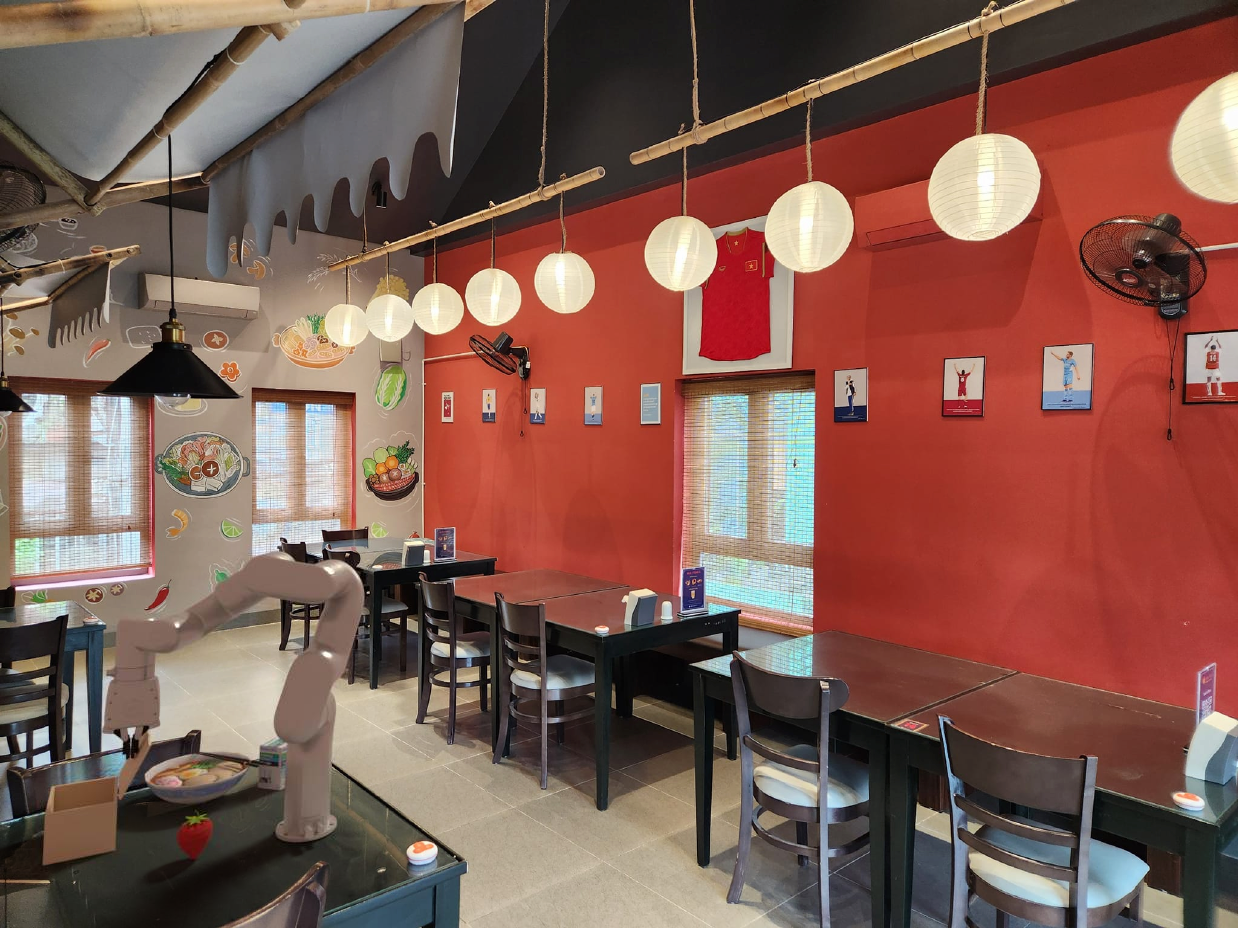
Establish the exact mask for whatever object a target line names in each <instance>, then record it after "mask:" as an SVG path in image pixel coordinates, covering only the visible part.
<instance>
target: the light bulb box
mask: <svg viewBox="0 0 1238 928" xmlns="http://www.w3.org/2000/svg"><path fill="white" fill-rule="evenodd" d="M286 750H287V743H285V742H283V741H282V740H281V739H280V738H279V737H278V736H276V737H274V738H272V739H270V740H268V741H266V742H264V743H262V744H259V754H258V755H259V756H258V757H259V760H258V761H263V762H265V765H259V767H258V780H257V781H258V784H257V786H258V787H257V788H258V789H265V790H266V789H267V790H272V791H273V790H274V791H281V790H282V791H283V790H285V770H286Z"/></svg>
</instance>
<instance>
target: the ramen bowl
mask: <svg viewBox="0 0 1238 928" xmlns="http://www.w3.org/2000/svg"><path fill="white" fill-rule="evenodd" d="M186 752H188V753H189V754H185V755H182V756H178V757H174V758H171V759H168V760H165V761H163V762H160V763H158V764H156V765H153V766H152V767H151V768H149V770H147V771H146V772H145V773H144V781H145V783H146V786H148V788H149V789H150V790H151V792H153V793H154V794H155V795H156V796H157V797H159V798H160V799H162V800H164V801H167V802H168V803H175V804H183V805H187V804H194V805H201V804H205V803H207V801H208V802H209V801H212V800H214V799H216V798H219V797H221V796H222V795H225V794H226V793H228V792H230V791H231V790H232V789H234V788H235V787H236V786H237V785H238V784H239V783H240V782H241V780H242V779H243V777H244V776H245V774H246V773H247V772H248V770H249V769H250V767H252V768H259V765H265V762H263V761H259V760H255V759H250V758H251V757H250V756H249V755H245V754H243V753H240V752H233V751H224V750H223V751H222V750H221V751H203V752H202V751H197V750H192V749H186ZM190 753H191V754H190ZM200 803H201V804H200Z"/></svg>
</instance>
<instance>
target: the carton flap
mask: <svg viewBox="0 0 1238 928" xmlns="http://www.w3.org/2000/svg"><path fill="white" fill-rule="evenodd" d="M151 737H152V736H151V729H150V730H148V731H147V732H146V733H145V734H144V735H142V736H141V738H140V739H139V752H138V753H135V758H134V759H132V758H131V753H130V758H129V759H127V760H126V761H125V763H124V764H123V766H122V768H121V770H120V771H119V774H118V800H120V801H121V800H122V799H123V798H124V795H125V794H126V792H127V790H128V788H129V786H130V785H131V783H132V781H133V780H134V778H135V776H136V774H137V772H138V770H139V769H140V768H141V765H142V763H143V762H144V760H145V757H146V756H147V754H148V753H149V751H150V749H151V747H152V740H151Z"/></svg>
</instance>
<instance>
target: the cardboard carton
mask: <svg viewBox="0 0 1238 928" xmlns="http://www.w3.org/2000/svg"><path fill="white" fill-rule="evenodd" d="M118 795H119V775H115V776H107V777H101V778H95V779H89V780H83V781H77V782H71V783H66V784H65V783H63V784H59V785H54V786H53V785H52V786H51V788H50V792H49V796H48V800H47V804H46V805H47V806H46V809H45V813H44V831H43V850H42V851H43V852H42V853H43V854H42V866H47V865H52V864H56V863H61V862H66V861H71V860H77V859H81V858H86V857H91V856H96V855H100V854H105V853H110V852H114V851H116V843H117V819H118V816H117V815H118Z"/></svg>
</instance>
